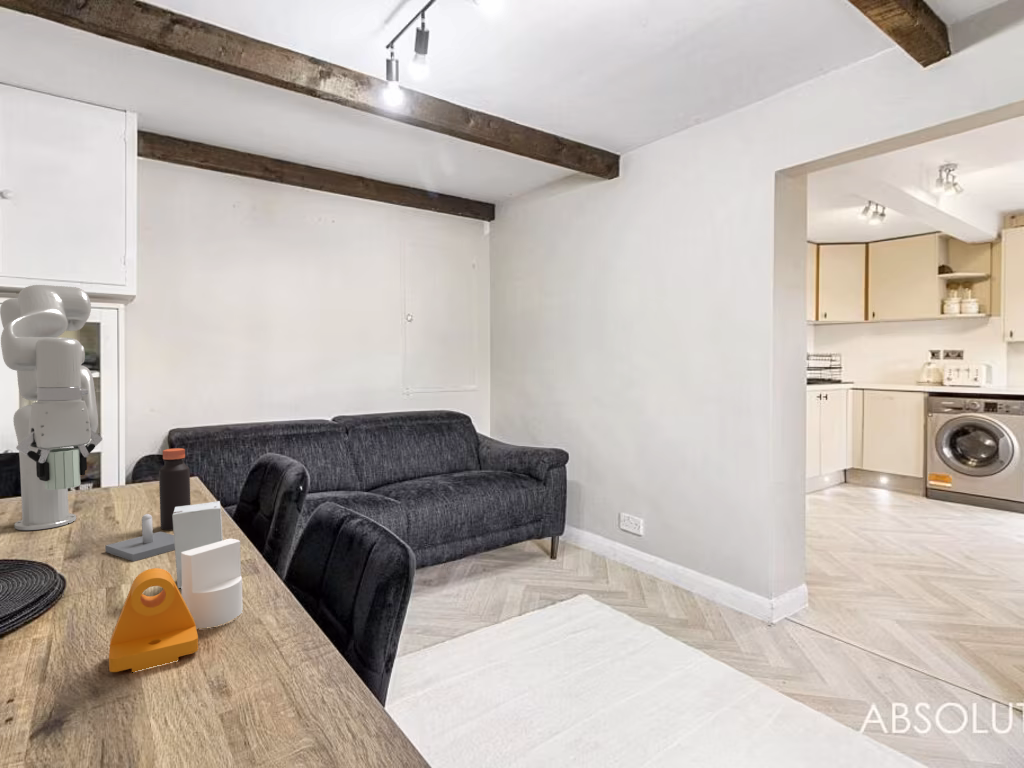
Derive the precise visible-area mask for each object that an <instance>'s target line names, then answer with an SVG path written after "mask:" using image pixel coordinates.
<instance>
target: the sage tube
mask: <svg viewBox="0 0 1024 768" xmlns="http://www.w3.org/2000/svg"><path fill="white" fill-rule="evenodd" d="M46 462H48V463H49V480H48V481H45V489H49V490H57V489H67V488H68V489H72V488H77V487H79V486H80V485H81V475H80V454H79V449H78V448H74V447H63V448H56V449H50V451H49V454H48V456H47V458H46Z"/></svg>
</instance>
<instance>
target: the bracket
mask: <svg viewBox="0 0 1024 768" xmlns="http://www.w3.org/2000/svg"><path fill="white" fill-rule="evenodd" d="M132 581H133V582H132V584H131V585H130V588H129V590H128V594H127V596H126V599H125V602H124V603H123V606H122V608H121V610H120V613H119V617H118V619H117V621H116V624H115V626H114V630H113V631H112V634H111V636H110V639H109V641H110V642H109V649H108V650H109V652H108V671H109V673H118V672H123V671H126V670H129V669H130V670H131V673H132V672H135V671H138V670H142V669H146V668H149V667H153V666H157V665H162V664H165V663H170V662H173V661H177V660H179V657H183V656H186V655H188V656H189V655H190V654H194V653H196V652H198V650H199V634H198V631H197V629H196V625H195V621H194V619H193V617H192V615H191V613H190V611H189V609H188V607H187V605H186V603H185V601H184V599H183V597H182V592H181V591H180V589H178V585H177V584H176V581H175V579H174V578H173V576H172V575H171V573H170V572H169V571H168V570H166V569H163V568H159V567H154V568H149V569H146V570H143V571H142V572H140V573H139V574H138V575H137V576H136V577H135V578H134V580H132ZM151 587H160V588H162V589H161V591H160V592H159V593H158V594H156V595H151V596H148V595H146V594H144V591H146V590H147V589H149V588H151Z"/></svg>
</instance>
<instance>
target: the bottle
mask: <svg viewBox="0 0 1024 768" xmlns="http://www.w3.org/2000/svg"><path fill="white" fill-rule="evenodd" d="M162 459H163V462H164V465H163V466H162V467H160V469H159V470H158V482H159V483H158V485H159V489H158V490H159V509H160V510H159V513H160V514H159V515H160V516H159V518H160V521H159V522H160V528H161V529H162V530H164V531H173V518H172V515H173V512H174V509H175V507H179V506H187V505H192V504H191V478H190V473H191V472H190V471H191V470H190V467H189V466H188V465H187V464H186V463H185V460H186V449H185V448H179V447H178V448H176V447H175V448H167V449H164V450H162Z"/></svg>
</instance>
